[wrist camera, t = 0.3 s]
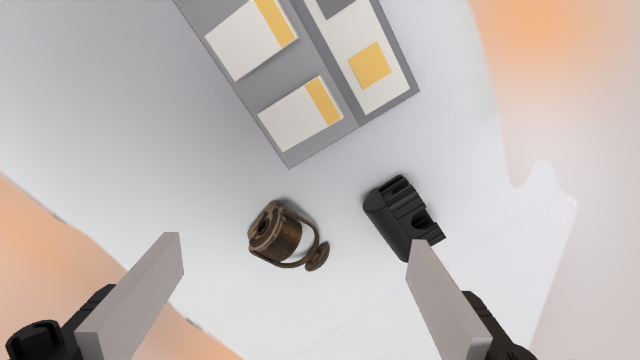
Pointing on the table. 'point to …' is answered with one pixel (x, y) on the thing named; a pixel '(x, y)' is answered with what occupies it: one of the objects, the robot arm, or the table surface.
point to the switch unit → (319, 63)
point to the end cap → (401, 216)
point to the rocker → (301, 114)
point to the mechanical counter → (283, 239)
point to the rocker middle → (252, 36)
